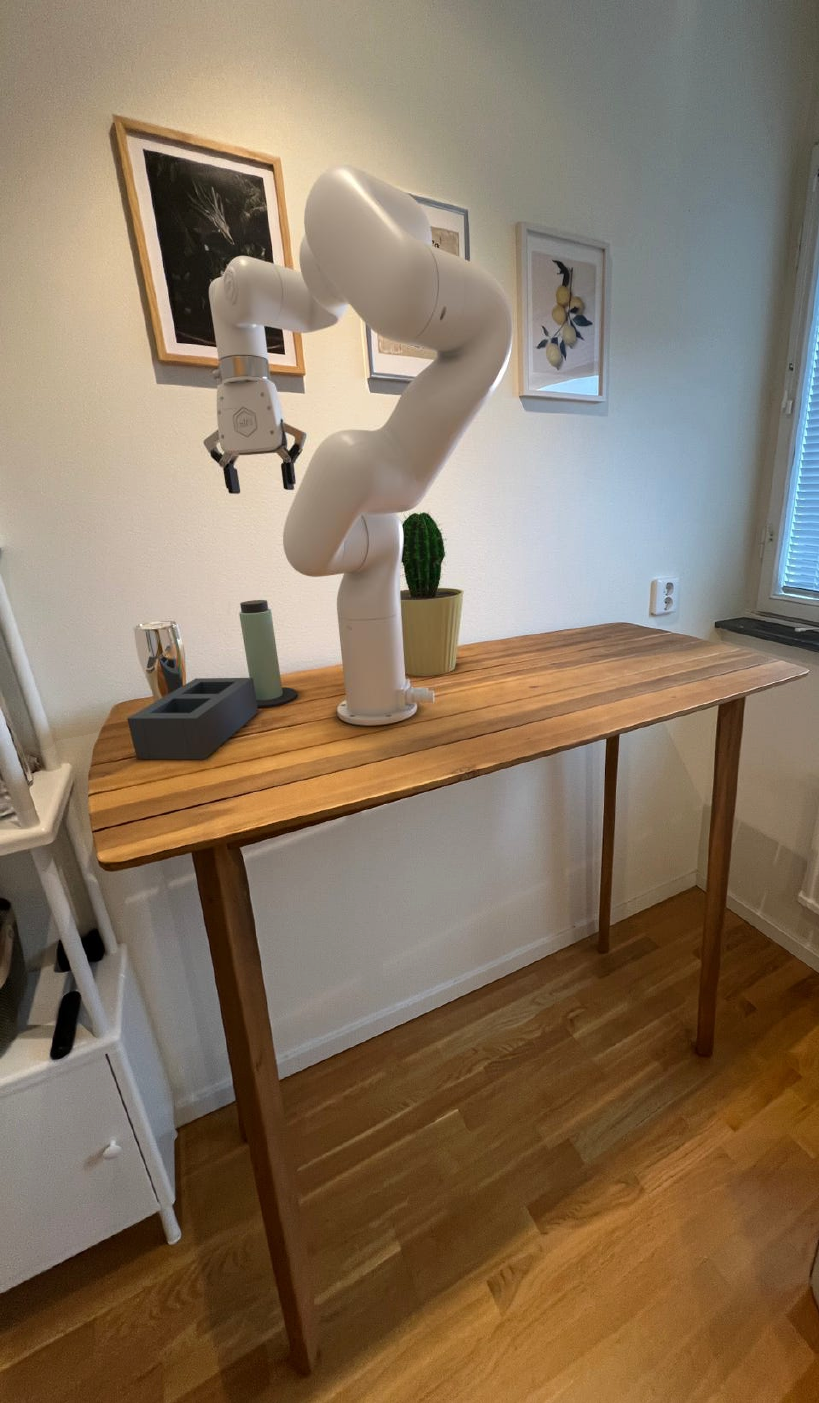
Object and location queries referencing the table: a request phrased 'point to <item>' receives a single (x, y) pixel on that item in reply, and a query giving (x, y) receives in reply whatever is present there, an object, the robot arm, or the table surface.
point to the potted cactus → (427, 601)
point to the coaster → (279, 698)
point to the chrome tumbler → (161, 656)
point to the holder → (193, 719)
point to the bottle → (261, 649)
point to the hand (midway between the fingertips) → (261, 491)
